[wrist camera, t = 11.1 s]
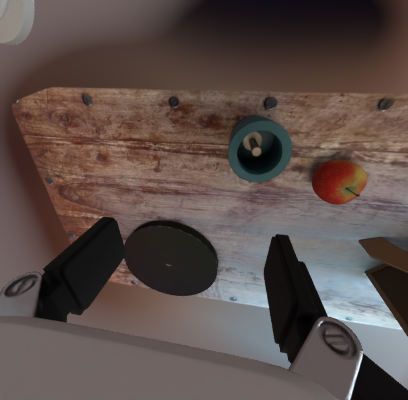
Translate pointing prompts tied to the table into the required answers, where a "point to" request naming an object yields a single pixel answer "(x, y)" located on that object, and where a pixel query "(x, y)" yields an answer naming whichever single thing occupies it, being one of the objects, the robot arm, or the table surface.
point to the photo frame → (390, 276)
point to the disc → (171, 258)
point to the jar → (270, 148)
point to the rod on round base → (253, 143)
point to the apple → (339, 181)
